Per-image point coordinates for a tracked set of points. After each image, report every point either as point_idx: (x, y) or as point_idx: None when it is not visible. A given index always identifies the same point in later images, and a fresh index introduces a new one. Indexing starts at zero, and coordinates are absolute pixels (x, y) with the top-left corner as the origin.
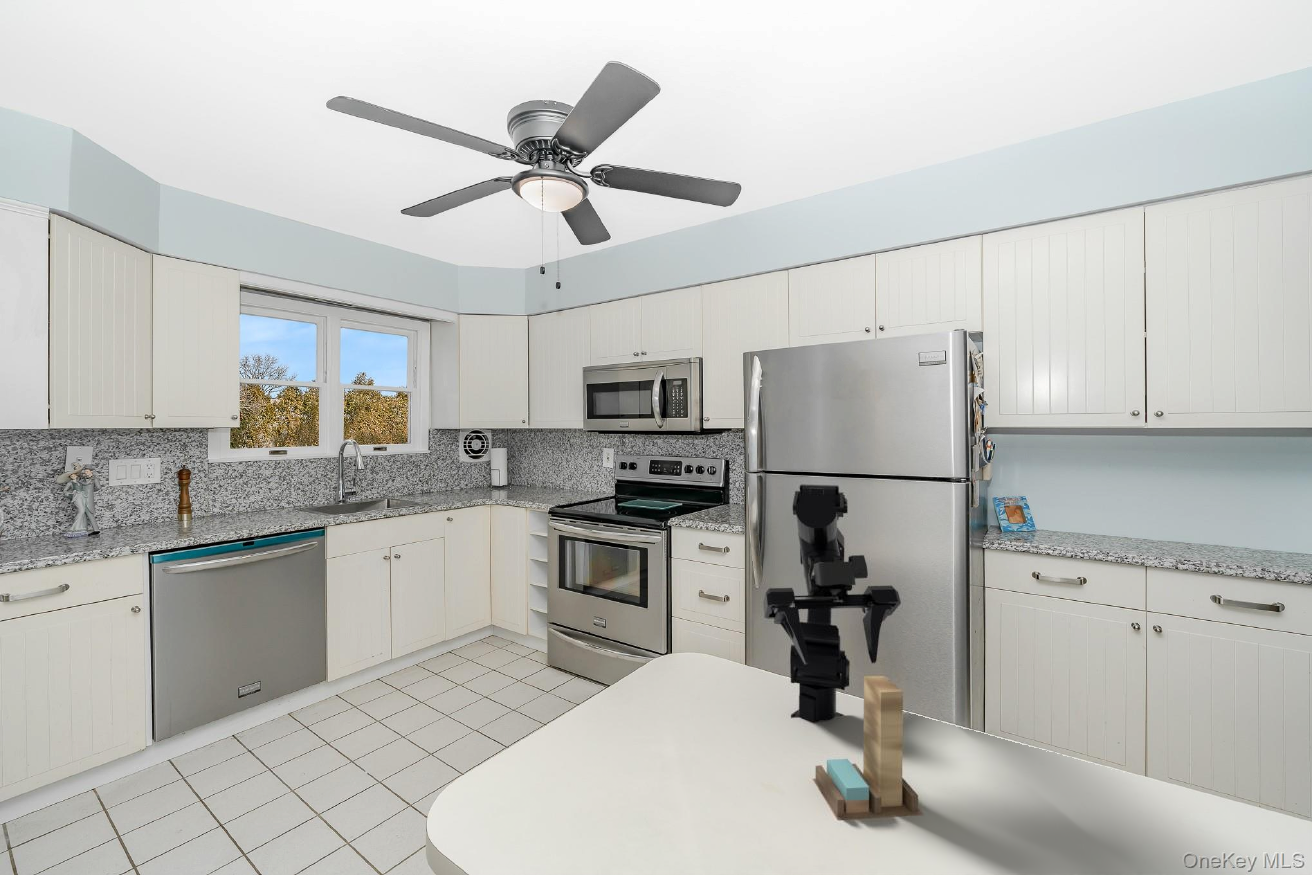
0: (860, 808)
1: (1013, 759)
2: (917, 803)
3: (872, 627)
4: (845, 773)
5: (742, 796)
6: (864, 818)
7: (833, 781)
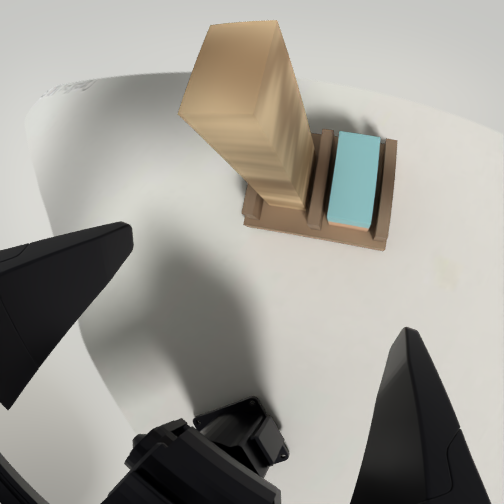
0: None
1: None
2: None
3: (9, 265)
4: (359, 174)
5: (492, 262)
6: None
7: None
